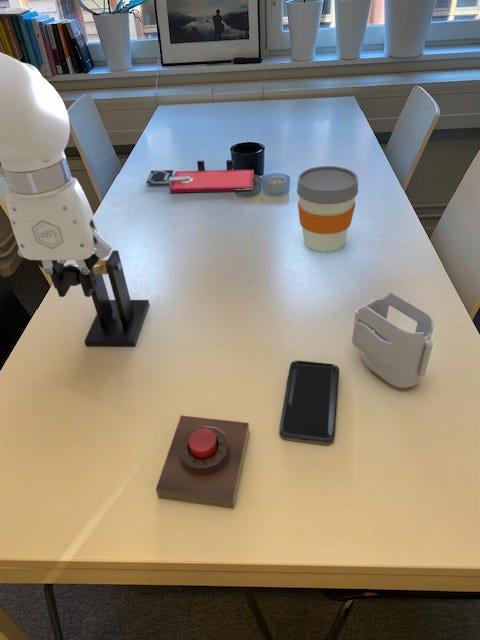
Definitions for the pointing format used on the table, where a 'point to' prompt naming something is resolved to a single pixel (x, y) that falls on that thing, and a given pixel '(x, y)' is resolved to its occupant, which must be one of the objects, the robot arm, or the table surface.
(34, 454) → the table surface
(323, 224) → the reusable coffee cup
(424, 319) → the cable organizer
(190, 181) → the red board with handle
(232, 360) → the table surface
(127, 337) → the switch bracket
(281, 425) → the phone
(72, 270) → the switch lever
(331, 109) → the table surface
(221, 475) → the button block
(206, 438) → the button
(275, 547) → the table surface
